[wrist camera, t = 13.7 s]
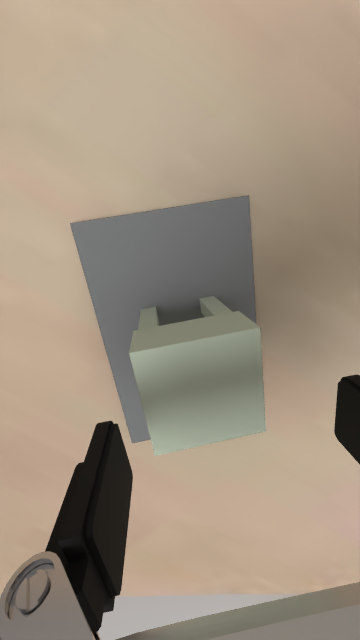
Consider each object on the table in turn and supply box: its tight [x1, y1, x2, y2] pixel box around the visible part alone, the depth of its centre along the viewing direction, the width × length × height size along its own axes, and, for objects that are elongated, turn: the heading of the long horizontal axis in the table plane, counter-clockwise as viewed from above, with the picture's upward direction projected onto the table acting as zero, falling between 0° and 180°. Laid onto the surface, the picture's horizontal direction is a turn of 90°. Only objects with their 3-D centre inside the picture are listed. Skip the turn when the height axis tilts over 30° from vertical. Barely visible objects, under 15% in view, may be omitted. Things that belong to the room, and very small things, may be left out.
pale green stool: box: [129, 296, 266, 456], centre depth 16 cm, size 6×6×8 cm
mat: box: [70, 195, 256, 443], centre depth 21 cm, size 13×20×1 cm, turn 9°
